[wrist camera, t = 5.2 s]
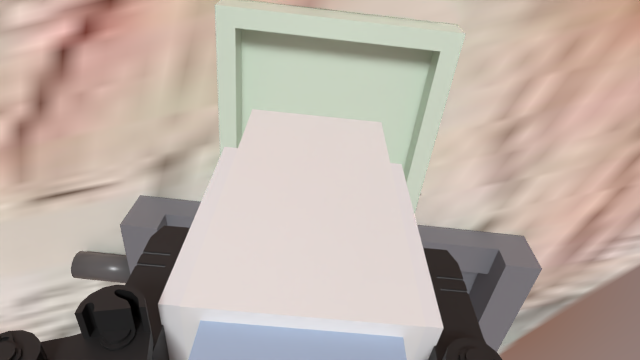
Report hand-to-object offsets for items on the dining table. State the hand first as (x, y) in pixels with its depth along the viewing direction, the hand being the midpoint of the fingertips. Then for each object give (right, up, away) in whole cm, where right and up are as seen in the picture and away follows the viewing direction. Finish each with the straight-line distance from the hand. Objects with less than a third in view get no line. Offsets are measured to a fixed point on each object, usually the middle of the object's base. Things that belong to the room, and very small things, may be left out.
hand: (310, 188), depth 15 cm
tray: (+1, +3, +6) cm, 7 cm away
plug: (0, +1, +1) cm, 1 cm away
